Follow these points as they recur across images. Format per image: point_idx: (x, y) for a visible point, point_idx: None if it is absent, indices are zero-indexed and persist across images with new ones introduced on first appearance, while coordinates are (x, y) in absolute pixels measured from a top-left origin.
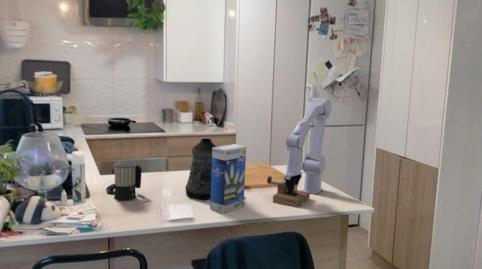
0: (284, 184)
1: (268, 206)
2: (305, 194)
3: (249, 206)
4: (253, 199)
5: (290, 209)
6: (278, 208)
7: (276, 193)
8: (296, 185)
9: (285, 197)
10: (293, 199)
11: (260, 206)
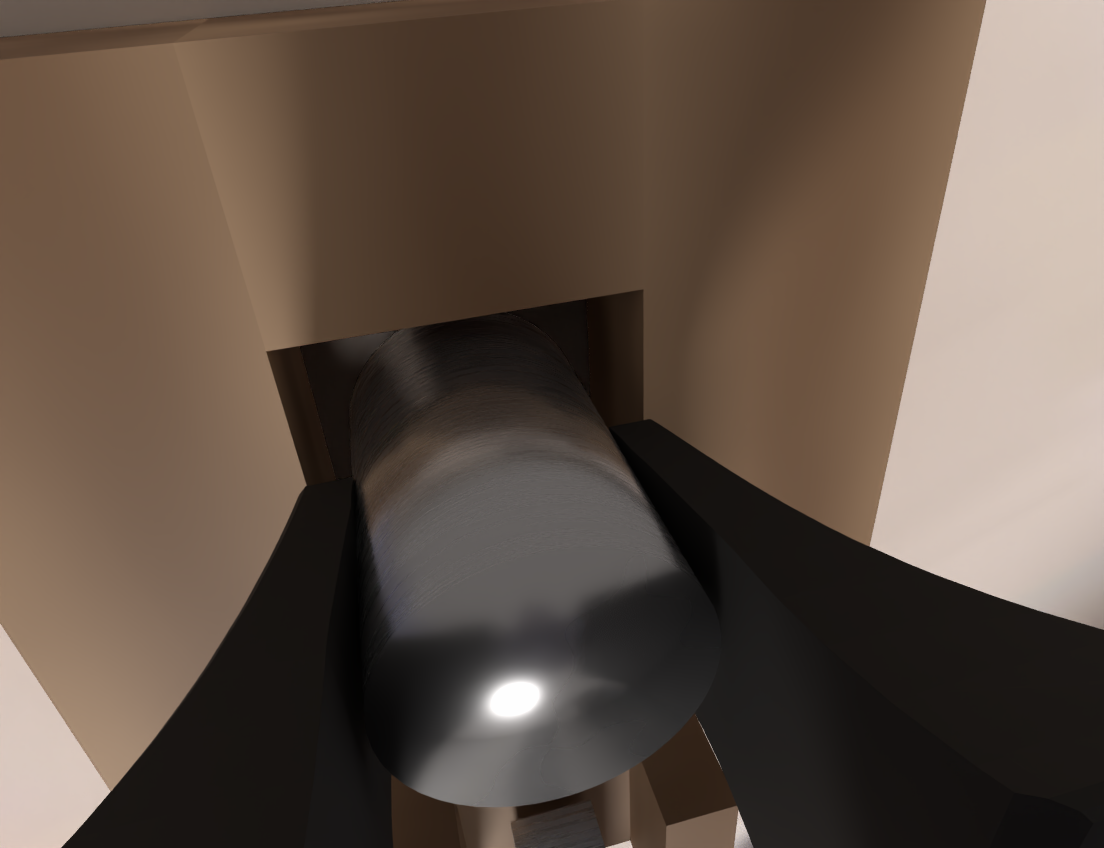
0: (704, 815)
1: (1018, 466)
2: (183, 107)
3: (1088, 614)
4: None
5: (1080, 66)
6: (1077, 295)
7: None
8: (613, 544)
9: (881, 413)
10: (942, 181)
11: (1051, 536)
